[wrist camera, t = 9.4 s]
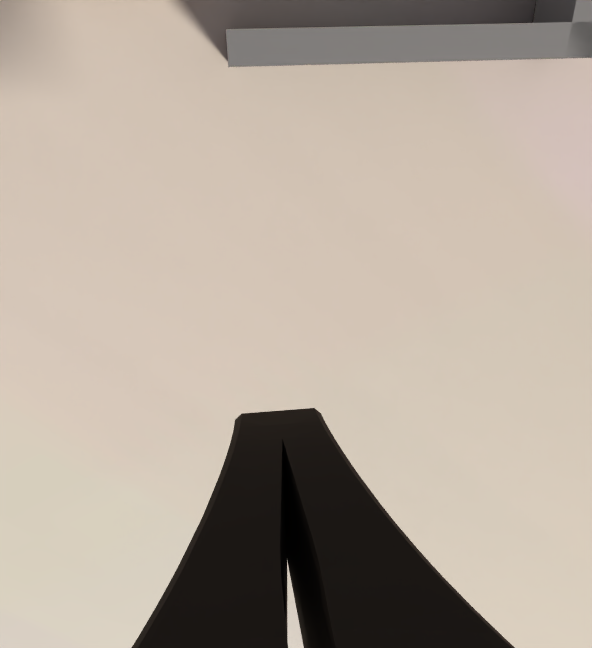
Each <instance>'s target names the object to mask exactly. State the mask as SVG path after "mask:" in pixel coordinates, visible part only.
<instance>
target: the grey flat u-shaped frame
mask: <svg viewBox="0 0 592 648" xmlns="http://www.w3.org/2000/svg"><path fill="white" fill-rule="evenodd" d="M226 41H227V55H228V67H244V66H283V65H323V64H362V63H401V62H440V61H479V60H518V59H557V58H592V0H536V6H535V12H534V18H533V23H503V24H453V25H402V26H352V27H302V28H251V29H226Z"/></svg>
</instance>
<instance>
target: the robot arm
mask: <svg viewBox="0 0 592 648" xmlns="http://www.w3.org/2000/svg"><path fill="white" fill-rule="evenodd" d="M287 560H288V565H289V571H290V576H291V582H292V587H293V592H294V597H295V603H296V608H297V613H298V619H299V624H300V629H301V634H302V640H303V645H304V648H515V647H513V646H512V645H511V644H510V643H509V642H508V641H507V640H506V639H505V638H504V637H503V636H502V635H501V634H500V633H499V632H498V631H497V630H495V629H494V628H493V627H492V626H491V625H490V624H489V623H488V622H487V621H486V620H485V619H484V618H483V617H482V616H481V615H480V614H479V613H478V612H477V611H476V610H475V609H474V608H473V607H472V606H471V605H470V604H469V603H468V602H467V601H466V600H465V599H464V598H463V597H462V596H461V595H460V594H459V593H458V592H457V591H456V590H455V589H454V588H453V587H452V586H451V585H450V584H449V583H448V582H447V581H446V580H445V579H444V578H443V577H442V575H441V574H440V573H439V572H438V571H437V570H436V569H435V568H434V567H433V566H432V565H431V564H430V562H429V561H428V560H427V559H426V558H425V557H424V556H423V555H422V553H421V552H420V551H419V550H418V549H417V548H416V547H415V545H414V544H413V543H412V542H411V541H410V540H409V538H408V537H407V536H406V535H405V534H404V532H403V531H402V530H401V529H400V528H399V527H398V525H397V524H396V523H395V522H394V521H393V519H392V518H391V517H390V516H389V514H388V513H387V512H386V511H385V509H384V508H383V507H382V506H381V504H380V503H379V502H378V500H377V499H376V498H375V496H374V495H373V493H372V492H371V491H370V489H369V488H368V487H367V485H366V484H365V483H364V481H363V480H362V479H361V477H360V476H359V475H358V473H357V472H356V470H355V469H354V468H353V466H352V465H351V463H350V462H349V460H348V459H347V457H346V456H345V454H344V453H343V451H342V450H341V448H340V447H339V445H338V443H337V442H336V440H335V439H334V437H333V435H332V434H331V432H330V430H329V428H328V427H327V425H326V423H325V421H324V419H323V417H322V415H321V413H320V412H318V411H317V410H316V409H315V408H310V409H297V410H284V411H271V412H258V413H245V414H241V415H240V416H239V417H238V418H237V419H236V420H235V425H234V431H233V435H232V439H231V443H230V446H229V450H228V453H227V456H226V459H225V462H224V465H223V468H222V470H221V473H220V476H219V478H218V481H217V483H216V486H215V488H214V491H213V493H212V496H211V498H210V500H209V503H208V505H207V508H206V510H205V512H204V515H203V517H202V519H201V521H200V523H199V525H198V527H197V530H196V532H195V534H194V536H193V538H192V540H191V542H190V544H189V546H188V548H187V550H186V552H185V554H184V556H183V558H182V560H181V562H180V564H179V566H178V568H177V570H176V572H175V574H174V576H173V578H172V579H171V581H170V583H169V585H168V587H167V589H166V590H165V592H164V594H163V596H162V598H161V599H160V601H159V603H158V605H157V606H156V608H155V610H154V611H153V613H152V615H151V617H150V618H149V620H148V622H147V623H146V625H145V627H144V628H143V630H142V632H141V634H140V635H139V637H138V638H137V640H136V642H135V643H134V645H133V646H132V648H288V644H287Z"/></svg>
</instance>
